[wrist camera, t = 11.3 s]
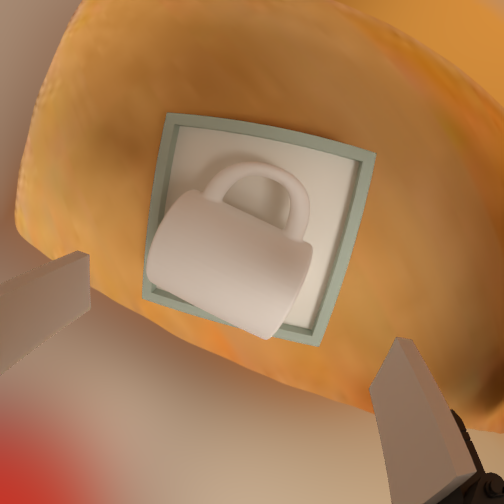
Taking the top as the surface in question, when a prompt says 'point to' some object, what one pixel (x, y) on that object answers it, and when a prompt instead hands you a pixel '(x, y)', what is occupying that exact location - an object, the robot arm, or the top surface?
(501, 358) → the top surface
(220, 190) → the mug
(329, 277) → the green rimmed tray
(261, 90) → the top surface
